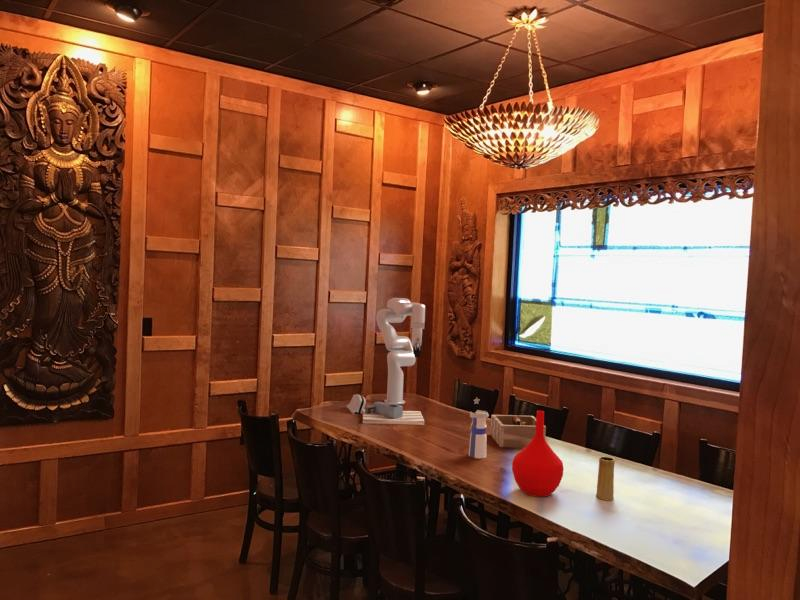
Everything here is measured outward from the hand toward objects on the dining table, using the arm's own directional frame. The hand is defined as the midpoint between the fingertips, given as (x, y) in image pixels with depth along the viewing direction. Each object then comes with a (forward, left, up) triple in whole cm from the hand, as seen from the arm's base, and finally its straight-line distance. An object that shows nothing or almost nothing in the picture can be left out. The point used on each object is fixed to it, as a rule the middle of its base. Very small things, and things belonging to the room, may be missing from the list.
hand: (416, 355), depth 348 cm
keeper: (+11, -24, -32) cm, 42 cm away
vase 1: (+126, +35, -32) cm, 135 cm away
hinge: (-1, -33, -33) cm, 46 cm away
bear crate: (+56, +45, -32) cm, 79 cm away
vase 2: (+130, +59, -32) cm, 146 cm away
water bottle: (+82, +21, -32) cm, 91 cm away
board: (+17, -13, -32) cm, 39 cm away
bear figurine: (+56, +47, -33) cm, 80 cm away
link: (+17, -18, -30) cm, 39 cm away
